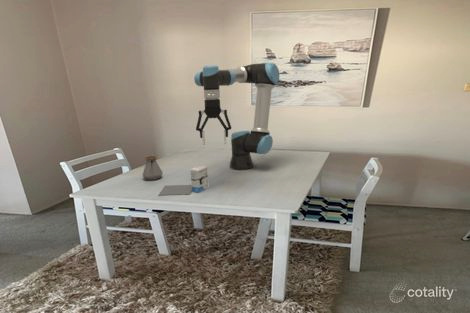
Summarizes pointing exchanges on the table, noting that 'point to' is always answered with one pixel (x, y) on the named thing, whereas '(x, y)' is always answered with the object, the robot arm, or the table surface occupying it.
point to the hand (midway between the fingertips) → (214, 143)
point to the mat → (176, 190)
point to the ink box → (199, 178)
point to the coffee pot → (152, 169)
